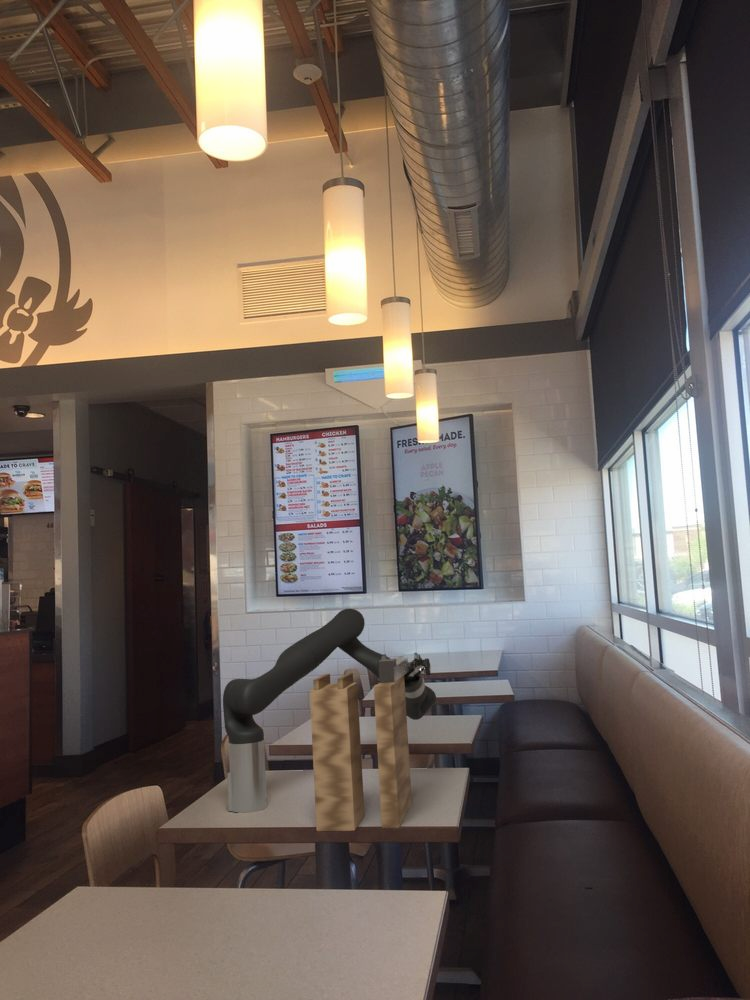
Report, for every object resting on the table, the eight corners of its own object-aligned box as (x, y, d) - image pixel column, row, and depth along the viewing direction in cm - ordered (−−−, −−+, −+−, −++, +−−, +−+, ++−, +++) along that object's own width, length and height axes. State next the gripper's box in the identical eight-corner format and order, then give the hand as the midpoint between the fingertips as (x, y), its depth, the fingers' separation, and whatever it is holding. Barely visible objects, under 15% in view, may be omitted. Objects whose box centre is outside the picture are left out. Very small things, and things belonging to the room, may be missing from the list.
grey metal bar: (394, 682, 201) (392, 660, 202) (379, 683, 202) (378, 661, 202) (408, 671, 226) (407, 652, 226) (395, 671, 226) (394, 652, 227)
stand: (316, 830, 192) (309, 679, 196) (339, 803, 215) (332, 669, 219) (397, 830, 189) (388, 676, 192) (411, 802, 212) (403, 666, 216)
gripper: (385, 669, 239) (374, 645, 226) (434, 667, 236) (426, 642, 223) (384, 694, 235) (373, 671, 222) (434, 692, 232) (426, 668, 219)
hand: (399, 656), depth 223 cm, fingers open, 8 cm apart
